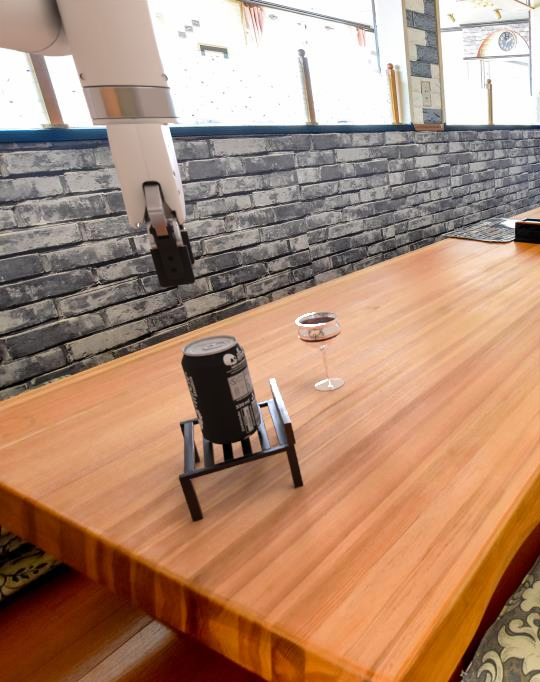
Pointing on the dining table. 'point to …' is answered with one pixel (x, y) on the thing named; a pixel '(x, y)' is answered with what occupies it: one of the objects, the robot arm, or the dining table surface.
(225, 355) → the beverage can
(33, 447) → the dining table surface
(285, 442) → the rack
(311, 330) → the wineglass
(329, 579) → the dining table surface
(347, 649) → the dining table surface
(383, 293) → the dining table surface
